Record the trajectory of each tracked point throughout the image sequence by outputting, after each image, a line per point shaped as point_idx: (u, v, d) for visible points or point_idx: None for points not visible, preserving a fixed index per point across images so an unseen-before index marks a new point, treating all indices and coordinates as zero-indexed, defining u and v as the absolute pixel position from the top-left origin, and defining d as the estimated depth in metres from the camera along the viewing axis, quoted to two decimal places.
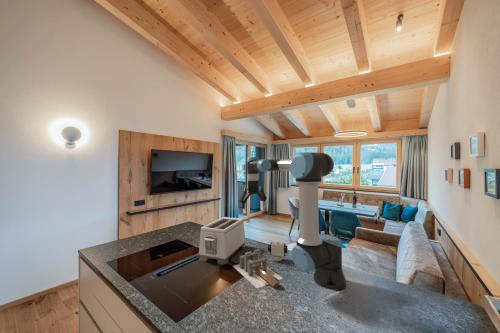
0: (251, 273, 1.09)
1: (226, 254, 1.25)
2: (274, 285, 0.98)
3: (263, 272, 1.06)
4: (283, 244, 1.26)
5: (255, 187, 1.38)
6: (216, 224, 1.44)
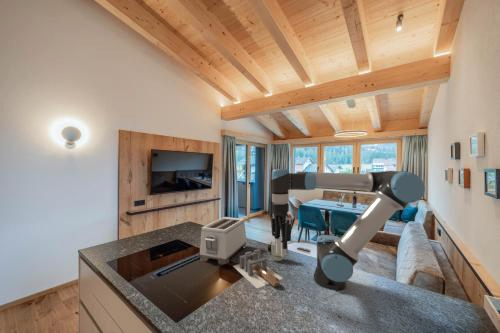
0: (251, 273, 1.09)
1: (227, 254, 1.25)
2: (274, 285, 0.99)
3: (264, 271, 1.06)
4: None
5: None
6: (217, 224, 1.44)
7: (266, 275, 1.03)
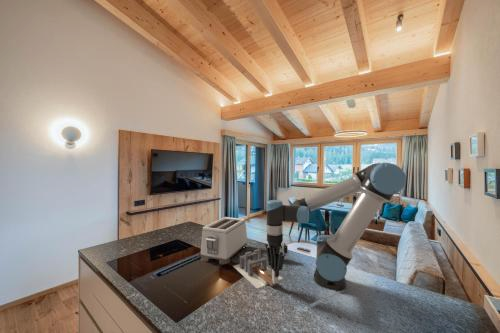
0: (251, 273, 1.09)
1: (228, 254, 1.25)
2: (273, 285, 0.99)
3: (261, 272, 1.06)
4: (283, 244, 1.26)
5: None
6: (218, 224, 1.44)
7: (263, 276, 1.03)
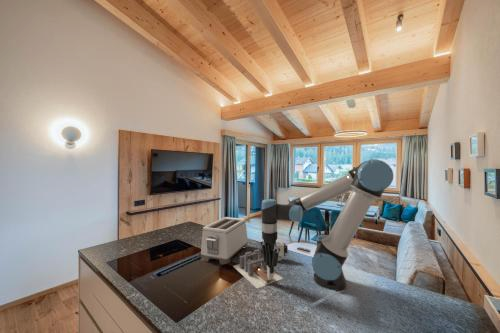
0: (251, 273, 1.09)
1: (228, 254, 1.25)
2: (268, 281, 1.03)
3: (257, 269, 1.09)
4: (283, 244, 1.26)
5: None
6: (218, 224, 1.44)
7: (259, 273, 1.07)
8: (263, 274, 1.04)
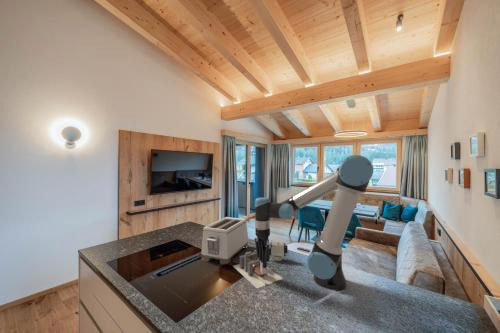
0: (251, 273, 1.09)
1: (228, 254, 1.25)
2: (261, 275, 1.08)
3: None
4: (283, 244, 1.26)
5: None
6: (219, 224, 1.44)
7: None
8: (256, 269, 1.10)
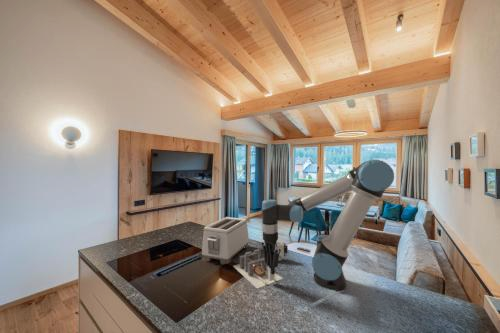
0: (251, 273, 1.09)
1: (229, 254, 1.25)
2: (261, 275, 1.08)
3: None
4: (283, 244, 1.26)
5: None
6: (219, 224, 1.44)
7: (253, 267, 1.12)
8: (257, 268, 1.10)
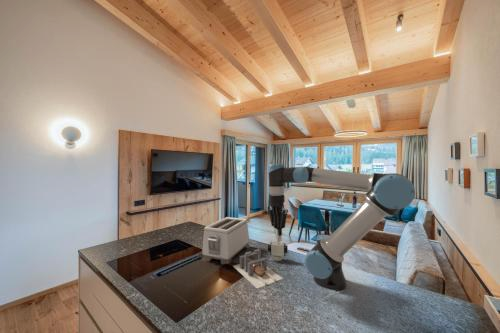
0: (251, 273, 1.09)
1: (229, 254, 1.25)
2: (261, 275, 1.08)
3: None
4: (283, 244, 1.26)
5: None
6: (220, 224, 1.44)
7: (253, 267, 1.12)
8: (256, 268, 1.10)
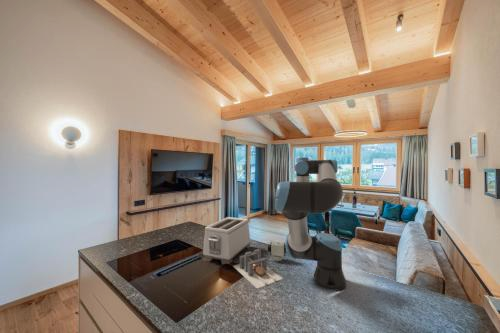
0: (251, 273, 1.09)
1: (230, 254, 1.24)
2: (261, 274, 1.08)
3: None
4: (283, 244, 1.26)
5: None
6: (220, 224, 1.44)
7: (254, 266, 1.13)
8: (258, 268, 1.10)
